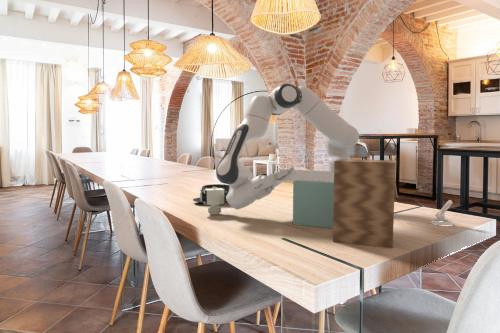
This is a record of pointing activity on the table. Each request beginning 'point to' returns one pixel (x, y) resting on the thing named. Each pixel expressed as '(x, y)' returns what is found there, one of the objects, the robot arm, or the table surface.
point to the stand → (364, 202)
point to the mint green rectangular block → (313, 203)
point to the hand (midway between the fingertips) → (290, 170)
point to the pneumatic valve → (214, 199)
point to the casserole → (212, 188)
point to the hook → (442, 215)
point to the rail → (309, 176)
